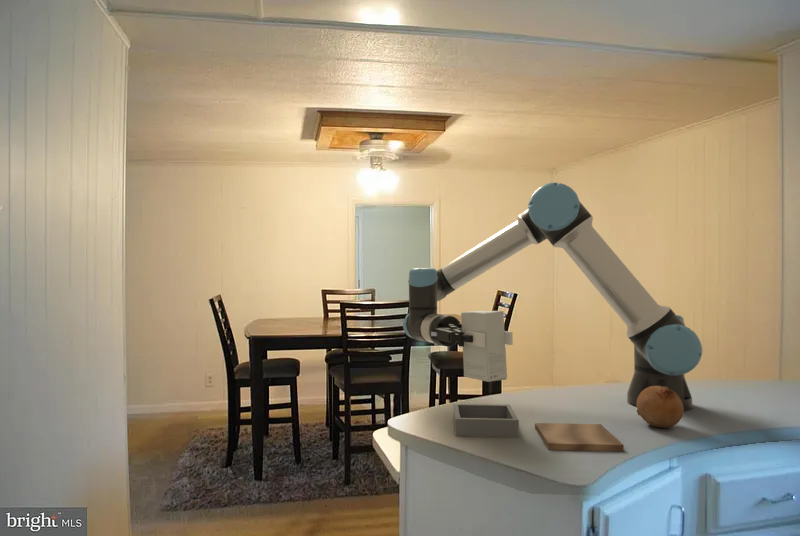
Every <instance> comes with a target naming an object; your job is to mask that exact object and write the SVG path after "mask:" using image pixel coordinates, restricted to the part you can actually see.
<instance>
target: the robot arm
mask: <svg viewBox="0 0 800 536" xmlns="http://www.w3.org/2000/svg"><path fill="white" fill-rule="evenodd" d="M593 220H594V217H593V215H592V214H591V213H590V212H589V211H588V210H587V208H586V207H585V206H584V204H582V202H581V201H580V199H579V197H578V194H577V193H576V191H575V190H574V189H573V188H571V187H570V186H569V185H567V184H564V183H561V182H549V183H545V184H543V185H541V186H540V187H537V189H536V190H535V191H534V192H533V193H532V195H531V197H530V198H529V201H528V206H527V209H526V210H524V211H523V212H522V213H520V214H518V217H517V220H516V221H514V222H512V223H510V225H507V226H506V227H505V228H503V229H501V230H499V231H498V232H497V233H495V234H493V235H492V236H490V237H489V238H487V239H485V240H484V241H482V242H481V243H478V244H477V245H476V246H474V247H473V248H471V249H469V250H467V251H466V252H464V253H463V254H461V255H460V256H459V257H457V258H455V259H454V260H452V261H451V262H449V263H447V264H446V265H444V266H442V267H441V268H439V269H436V268H434V267H417V268H416V267H415V268H410V269H409V273H408V295H409V296H408V300H409V301H408V306H409V309H408V314H406V316H405V318H404V319H403V321H402V328H403V331H404V333H405V335H406V336H408V337H409V338H411V339H414V340H416V341H418V342H419V341H420V342H427V343H430V344H431V343H432V344H434V346H435V347H438V345H439V346H444V347H453V346H454V345H456V344H458V347H460V348H461V347H462V348H463V346H464V342H465V344H469V345H474V346H479V347H485V334H482V333H476V332H470V331H465V334H464V332H463V331H462V322H461V321H460V320H459V319H458V318H456V316H452V315H446V314H441V313H438V302H440V301H442V300H444V299H445V298H446V297H447V296H448V295H450V294H451V293H454V291H456V290H458V289H459V288H461V287H462V286H464V285H466V284H467V283H469V282H471V281H473V280H474V279H475V278H476V279H477V278H478V277H479V276H480V275H482V274H484V273H486V272H487V271H489V270H490V269H492V268H494V267H496V266H497V265H499V264H501V263H502V262H503V261H505V260H506V259H509V258H510V257H512V256H513V255H515V254H517V253H518V252H520V251H522V250H524V249H526V248H528V246H531V245H533V244H534V245H539V244H541V243H542V242H544V241H546V240H547V241H548V242H549V243H550V244H551V246H552V247H553V248H561V249H563V250H564V251H565V253H566V254H567V255H568V257H570V258H571V259H572V261H573V262H574V263H575V264H576V266H577V267H578V268H579V269H580V270H581V272H582V273H583V274H584V276H585V277H586V278H587V279H588V280H589V281H590V283H591V284H592V285H593V286H594V288H596V290H597V292H599V294H601V296H602V297H603V299H604V300H605V302H607V303H608V304H609V306H610V307H611V308H612V310H613V311H614V312H615V313H616V314H617V315H618V316H619V318H620V319H621V321H623V323H624V324H625V325H626V327H627V328H626V329H627V330H626V337H627V338H628V339H629V340H630V342H631V343H632V344H633V349H634V350H633V351H634V352H633V355H634V356H633V359H634V363H633V364H634V369H633V371H634V372H633V376H632V378H631V381H630V384H629V387H628V390H627V394H626V396H627V397H626V398H627V403H629V404H630V405H632V406H636V407H637V405H636V404H637V398H638V396H639V394H640V393H641V392H642V391H643V390H644V389H646V388H648V387H651V386H662V387H668V388H669V389H670V390H672V391H674V392H675V393H676V394H677V395H678V396H679V397H680V399H681V401H682V403H683V407H684V411H688V410H691V409H693V398H692V395H691V394H692V393H691V391H690V389H689V386H688V383H687V380H686V377H685V375H686V374H688V373H690V372H691V371H693V370H694V369H696V367H697V366H698V365H699V364H700V361H701V359H702V357H703V356H702V355H703V346H702V343H701V339H700V338H699V336H698V335H697V333H696V332H695V331H693V330H692V329H691V328H690V327H687V326H686V324H685V320H684V319H685V318H683V316H682V315H679V314H678V315H677V314H676V313H675V312H674V311H673V310H672V308H671V307H670V306H665V305H660V304H658V302H657V301H656V300H655V299H654V298H653V296H651V294H650V293H649V291H647V289H646V288H645V287H644V286H643V285H642V283H641V282H640V281H639V280H638V279H637V278H636V276H634V274H633V273H632V272H631V270H630V269H629V268H628V267H627V266H626V265H625V263H624V262H623V261H622V260H621V259H620V258H619V256H618V254H616V253H615V252H614V250H613V249H612V248H611V246H609V244H607V242H606V241H605V240H604V239H603V237H602V236H601V235H600V234H599V233H598V232H597V230H596V229H595V228H594V227H593ZM504 331H505V345H507V346H512V345H514V343H513V341H514V339H513V334H514V333H513V331H507V330H504Z"/></svg>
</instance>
